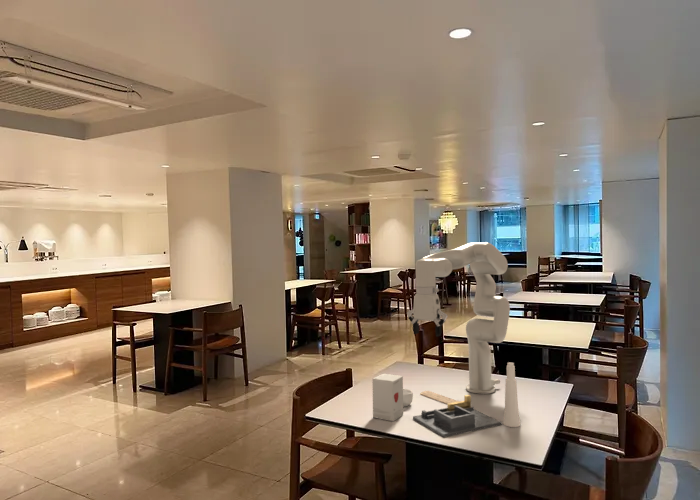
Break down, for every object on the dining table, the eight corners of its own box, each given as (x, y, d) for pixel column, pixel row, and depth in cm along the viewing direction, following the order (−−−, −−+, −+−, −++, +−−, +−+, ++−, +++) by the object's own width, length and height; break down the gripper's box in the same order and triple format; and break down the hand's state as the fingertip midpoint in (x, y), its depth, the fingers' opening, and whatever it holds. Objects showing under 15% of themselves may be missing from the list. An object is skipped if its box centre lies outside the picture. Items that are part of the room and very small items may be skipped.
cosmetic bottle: (511, 428, 171) (509, 365, 171) (499, 422, 177) (498, 362, 177) (524, 425, 174) (523, 363, 173) (512, 420, 179) (511, 360, 179)
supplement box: (393, 421, 180) (392, 381, 180) (372, 417, 185) (371, 378, 185) (404, 414, 188) (403, 375, 188) (383, 410, 193) (382, 372, 192)
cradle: (467, 408, 193) (467, 396, 193) (501, 424, 175) (501, 410, 175) (413, 419, 182) (412, 405, 182) (443, 437, 165) (443, 422, 165)
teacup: (416, 406, 197) (416, 393, 197) (399, 408, 194) (398, 395, 194) (405, 399, 206) (405, 386, 206) (388, 401, 204) (388, 388, 204)
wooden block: (468, 406, 191) (468, 394, 191) (471, 408, 190) (470, 395, 190) (447, 411, 187) (447, 398, 187) (449, 412, 186) (449, 399, 186)
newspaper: (419, 396, 212) (419, 392, 212) (432, 393, 216) (432, 389, 216) (459, 411, 192) (459, 406, 192) (472, 407, 196) (472, 403, 196)
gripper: (450, 290, 188) (451, 335, 188) (411, 289, 198) (412, 331, 199) (441, 292, 182) (442, 338, 182) (401, 291, 192) (403, 334, 193)
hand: (427, 334), depth 190 cm, fingers open, 9 cm apart
